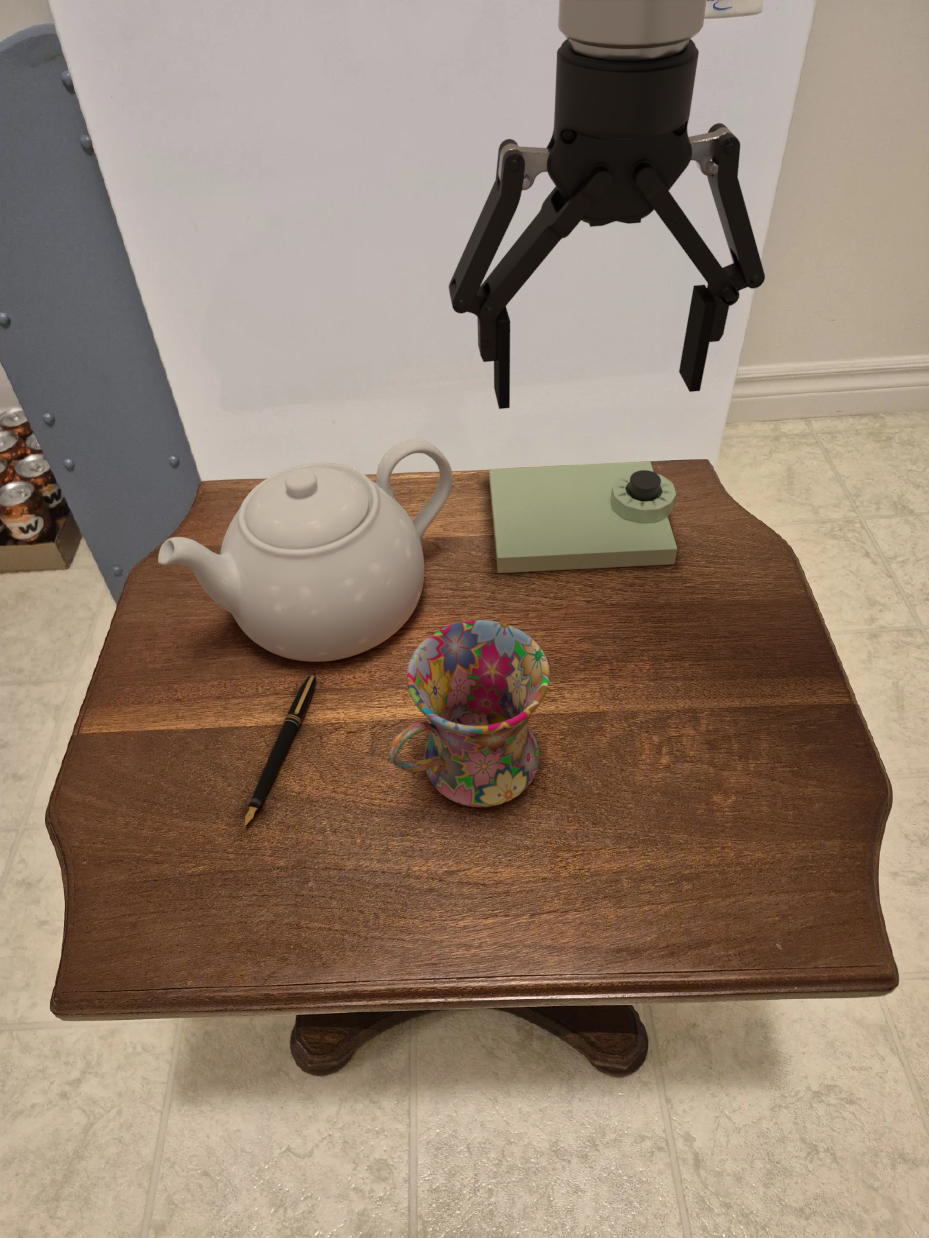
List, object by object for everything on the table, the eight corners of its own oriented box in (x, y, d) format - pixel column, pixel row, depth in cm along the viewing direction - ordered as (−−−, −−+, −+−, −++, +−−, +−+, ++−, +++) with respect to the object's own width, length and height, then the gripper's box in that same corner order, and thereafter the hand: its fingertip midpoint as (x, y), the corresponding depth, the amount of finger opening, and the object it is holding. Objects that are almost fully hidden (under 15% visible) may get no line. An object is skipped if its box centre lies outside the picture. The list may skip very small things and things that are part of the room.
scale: (656, 475, 85) (661, 446, 83) (683, 563, 76) (690, 534, 74) (489, 484, 85) (488, 455, 83) (497, 573, 76) (497, 544, 74)
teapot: (403, 694, 67) (386, 570, 57) (192, 658, 70) (140, 535, 61) (459, 541, 79) (452, 416, 69) (276, 516, 83) (245, 395, 73)
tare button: (655, 482, 79) (657, 469, 78) (661, 501, 77) (663, 487, 76) (625, 484, 79) (627, 470, 78) (631, 502, 77) (632, 489, 76)
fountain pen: (254, 834, 59) (249, 823, 58) (238, 831, 59) (233, 820, 58) (322, 678, 69) (319, 666, 68) (309, 675, 69) (306, 664, 68)
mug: (488, 692, 67) (486, 599, 59) (570, 768, 62) (579, 676, 54) (364, 777, 62) (343, 687, 54) (442, 867, 57) (432, 781, 49)
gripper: (828, 6, 48) (748, 348, 64) (390, 36, 47) (418, 376, 62) (887, 41, 43) (785, 403, 58) (397, 75, 42) (426, 435, 57)
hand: (595, 390), depth 60 cm, fingers open, 13 cm apart
